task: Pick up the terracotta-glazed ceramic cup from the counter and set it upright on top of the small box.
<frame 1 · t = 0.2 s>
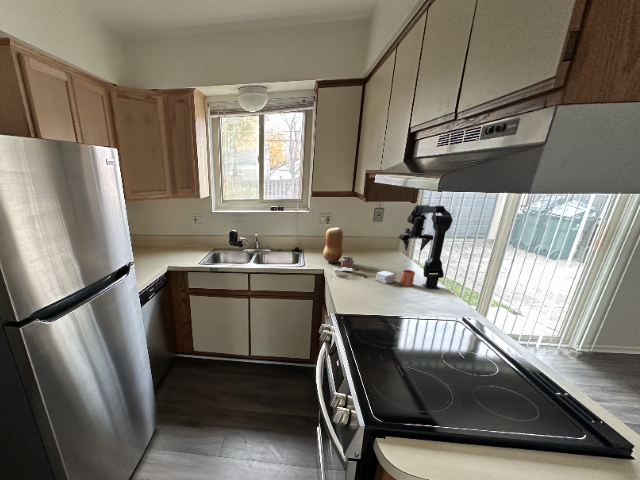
hand: (413, 250, 203), 15 cm above the worktop, tool pointing down, fingers open, 9 cm apart
small box: (385, 281, 193), on the worktop
butternut squash: (332, 262, 233), on the worktop
cup: (406, 284, 187), on the worktop
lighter: (346, 271, 213), on the worktop
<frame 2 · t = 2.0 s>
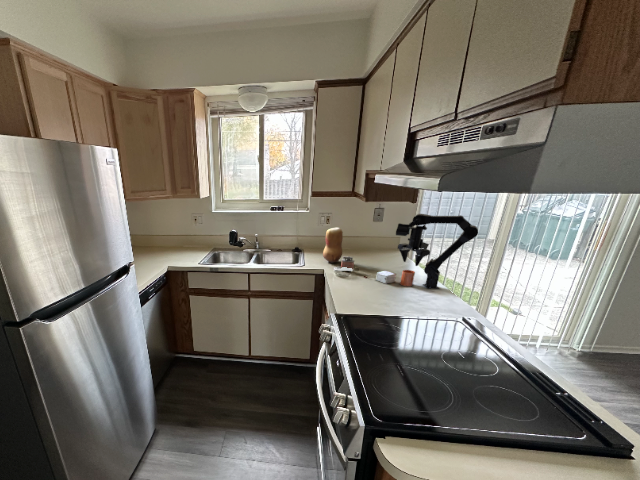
hand: (410, 263, 185), 12 cm above the worktop, tool pointing down, fingers open, 9 cm apart
nothing on the worktop moved.
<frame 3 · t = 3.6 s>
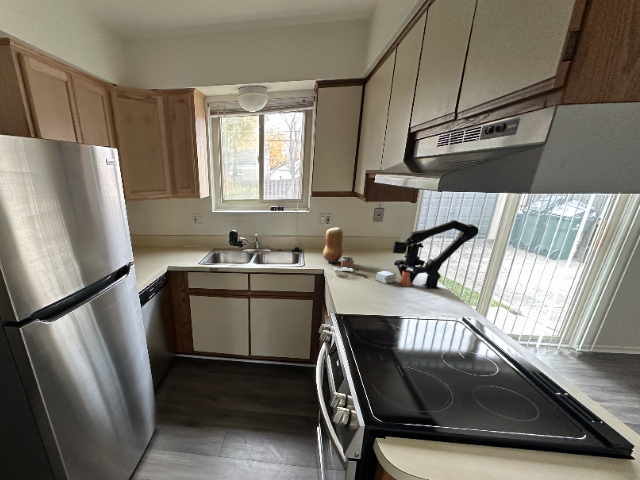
hand: (407, 280, 186), 3 cm above the worktop, tool pointing down, fingers closed on cup, 6 cm apart
cup: (406, 284, 187), on the worktop, touching gripper
everything else where it was.
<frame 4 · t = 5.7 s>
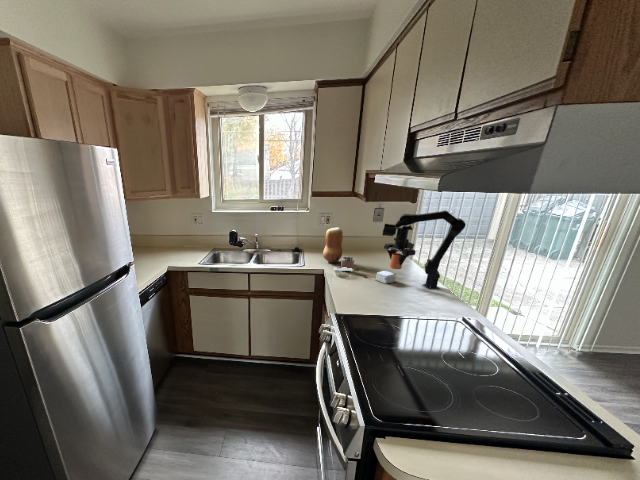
hand: (396, 263, 186), 12 cm above the worktop, tool pointing down, fingers closed on cup, 6 cm apart
cup: (395, 267, 187), point 9 cm above the worktop, touching gripper
everything else where it was.
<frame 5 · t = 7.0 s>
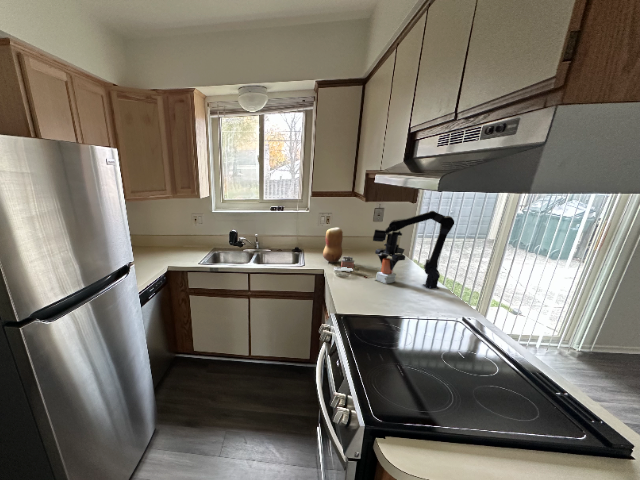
hand: (387, 268, 190), 8 cm above the worktop, tool pointing down, fingers closed on cup, 6 cm apart
cup: (386, 272, 191), point 6 cm above the worktop, touching gripper
everything else where it was.
when the fingers open (8 cm above the worktop, at t = 7.6 s): cup stays where it is, resting on small box.
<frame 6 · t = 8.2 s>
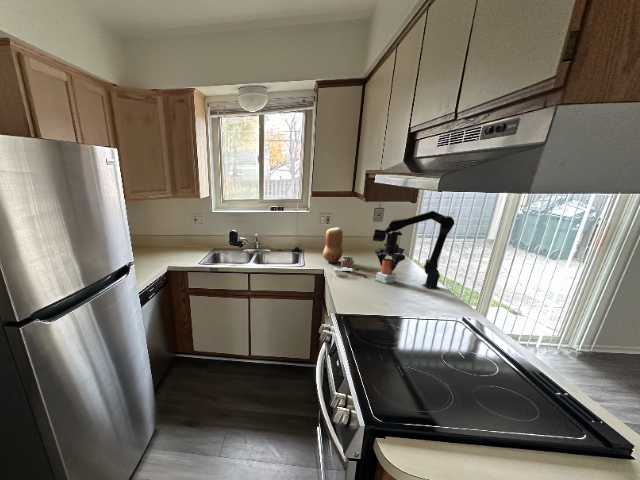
hand: (387, 268, 190), 8 cm above the worktop, tool pointing down, fingers open, 9 cm apart
small box: (385, 281, 193), on the worktop, touching cup
cup: (386, 273, 191), point 5 cm above the worktop, touching small box
everything else where it was.
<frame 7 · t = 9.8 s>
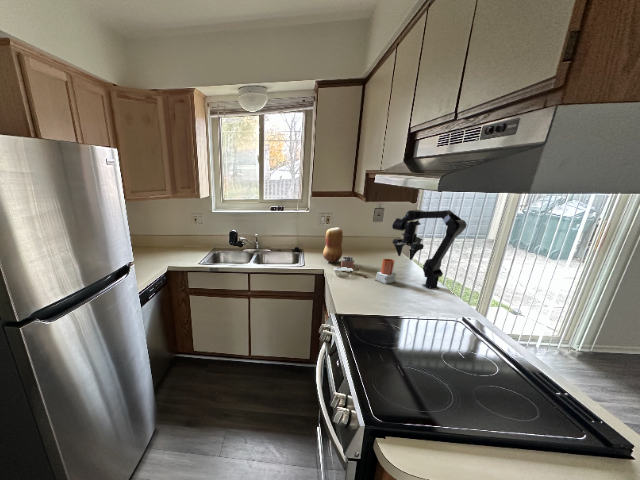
hand: (404, 257, 193), 13 cm above the worktop, tool pointing down, fingers open, 9 cm apart
nothing on the worktop moved.
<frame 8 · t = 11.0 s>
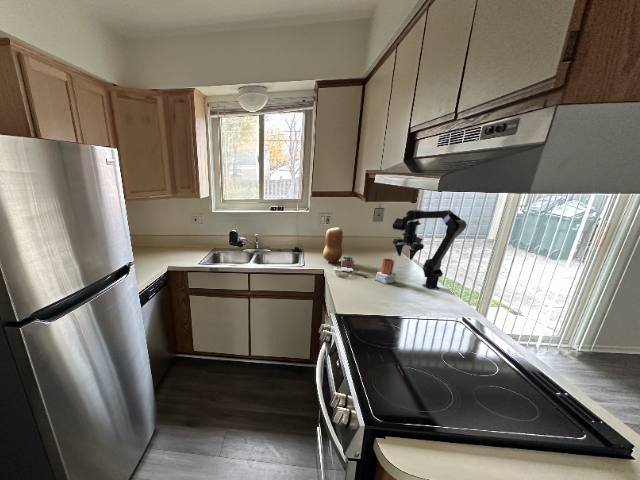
hand: (405, 257, 193), 13 cm above the worktop, tool pointing down, fingers open, 9 cm apart
nothing on the worktop moved.
at the end: cup 0.0 cm off-centre on the small box, point 5.3 cm above the small box's base; cup tilted 0°; the gripper is holding nothing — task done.
